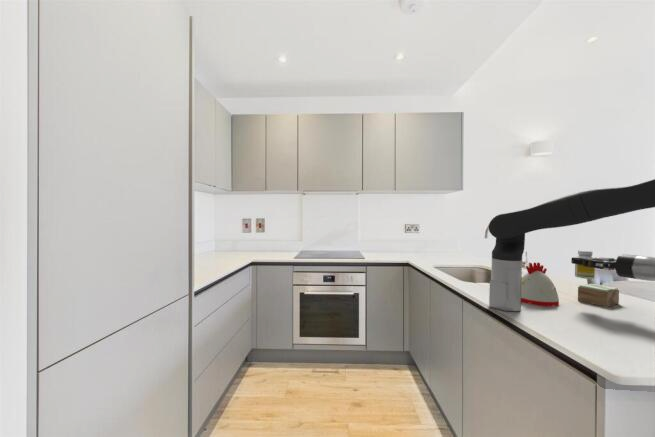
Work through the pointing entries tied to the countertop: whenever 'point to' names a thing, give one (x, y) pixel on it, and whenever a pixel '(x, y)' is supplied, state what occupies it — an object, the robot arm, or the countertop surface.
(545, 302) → the grey and red dome
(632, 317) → the countertop surface
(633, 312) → the countertop surface
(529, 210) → the robot arm
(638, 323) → the countertop surface
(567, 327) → the countertop surface
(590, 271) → the supplement bottle
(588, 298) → the stand
